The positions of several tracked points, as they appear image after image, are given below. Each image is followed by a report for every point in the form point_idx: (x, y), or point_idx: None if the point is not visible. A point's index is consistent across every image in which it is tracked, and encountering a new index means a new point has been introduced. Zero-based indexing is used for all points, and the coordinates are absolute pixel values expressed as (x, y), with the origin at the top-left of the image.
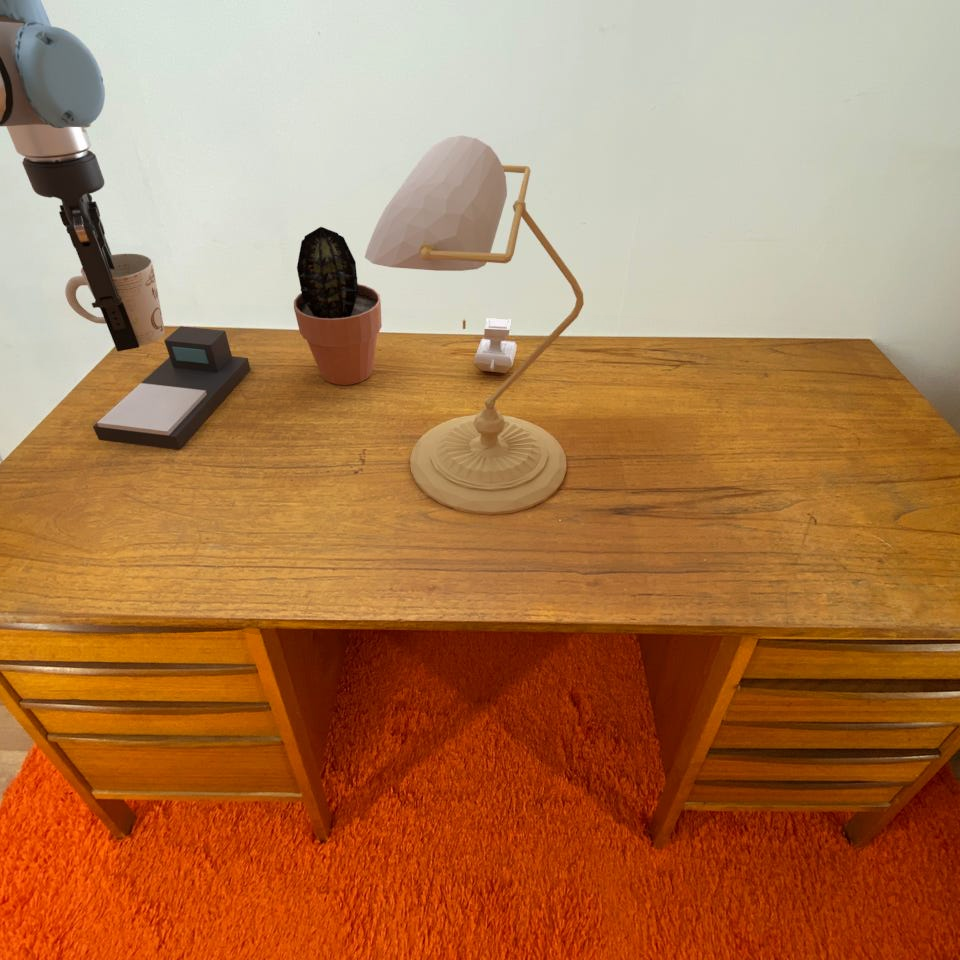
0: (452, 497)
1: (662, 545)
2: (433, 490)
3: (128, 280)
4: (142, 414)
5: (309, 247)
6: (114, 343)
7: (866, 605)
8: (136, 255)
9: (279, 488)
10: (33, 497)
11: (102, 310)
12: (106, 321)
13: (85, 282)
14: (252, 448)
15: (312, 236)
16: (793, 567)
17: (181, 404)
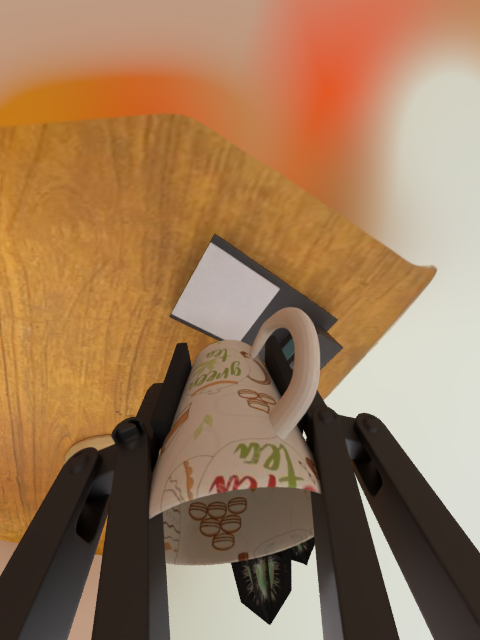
0: (75, 451)
1: (41, 498)
2: (83, 445)
3: None
4: (211, 291)
5: (254, 586)
6: (174, 352)
7: (6, 529)
8: (301, 537)
9: (103, 373)
10: (111, 155)
11: (154, 410)
12: (163, 386)
13: (280, 407)
14: (161, 360)
15: (269, 601)
16: (28, 521)
17: (218, 326)
